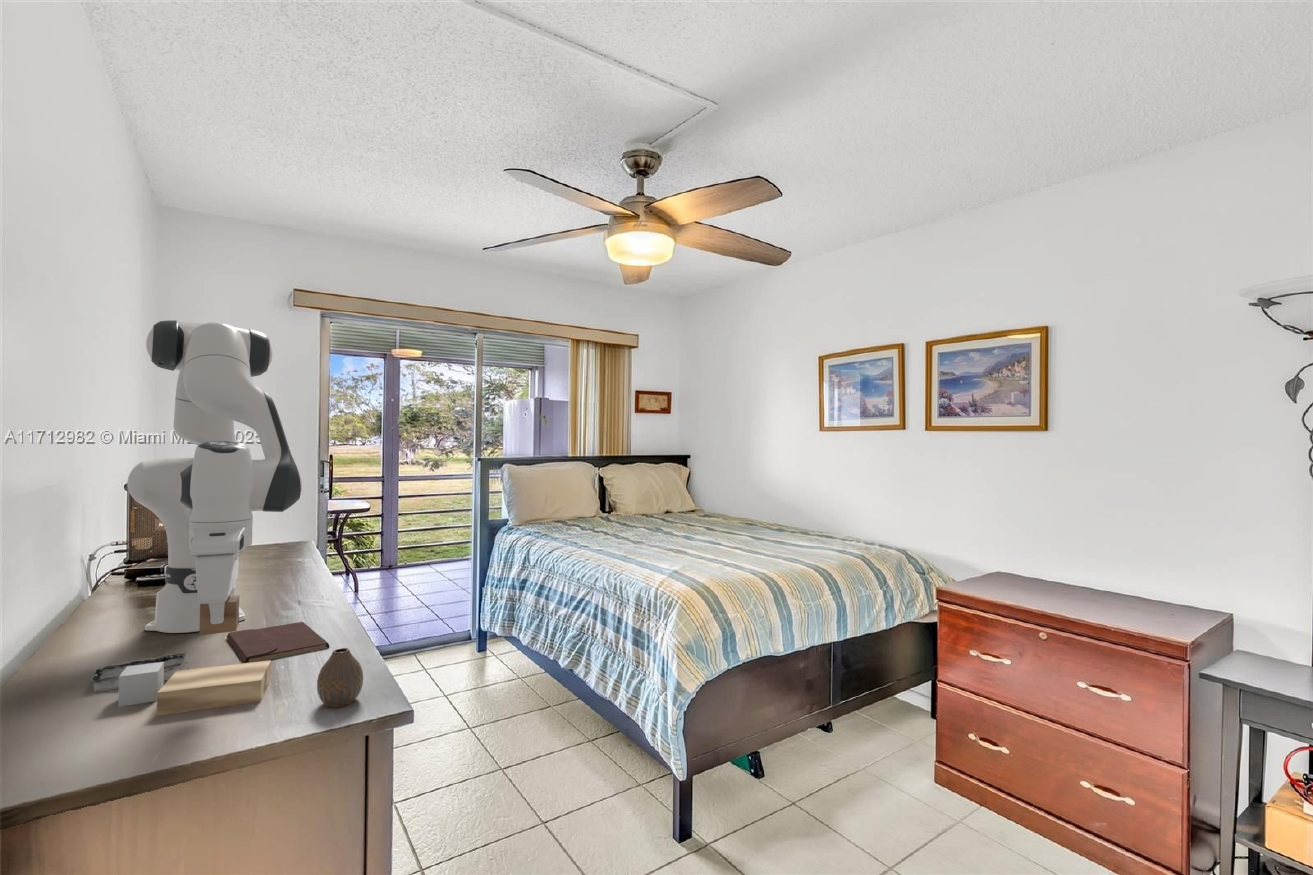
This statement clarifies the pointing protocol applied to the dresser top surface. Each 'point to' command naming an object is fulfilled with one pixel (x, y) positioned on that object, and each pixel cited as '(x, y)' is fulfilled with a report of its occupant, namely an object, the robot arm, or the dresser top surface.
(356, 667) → the vase
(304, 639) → the notebook
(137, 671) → the grey block
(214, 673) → the oak block
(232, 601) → the walnut cube
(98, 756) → the dresser top surface
